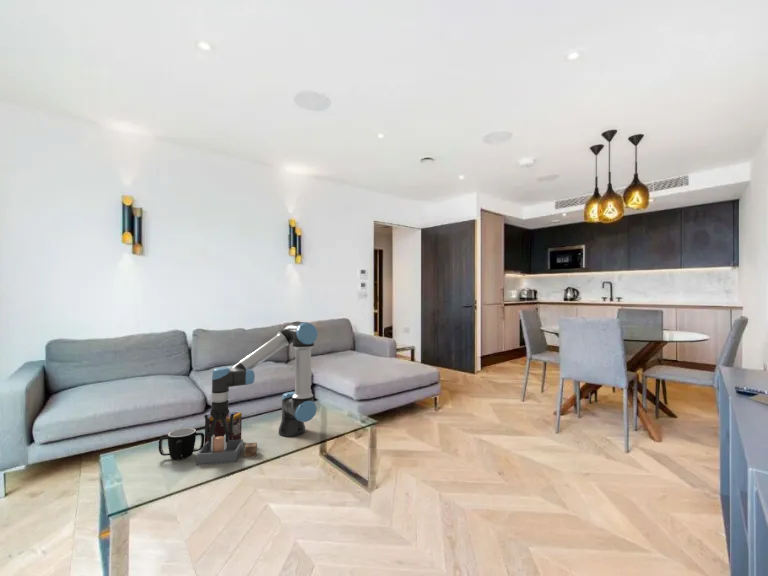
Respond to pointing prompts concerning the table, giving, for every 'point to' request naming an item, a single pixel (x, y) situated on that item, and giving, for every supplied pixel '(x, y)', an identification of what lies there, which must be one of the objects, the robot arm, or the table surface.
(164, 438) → the mug
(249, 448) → the walnut cube
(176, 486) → the table surface
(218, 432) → the supplement box
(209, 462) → the tray
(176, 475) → the table surface
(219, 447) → the terracotta canister
